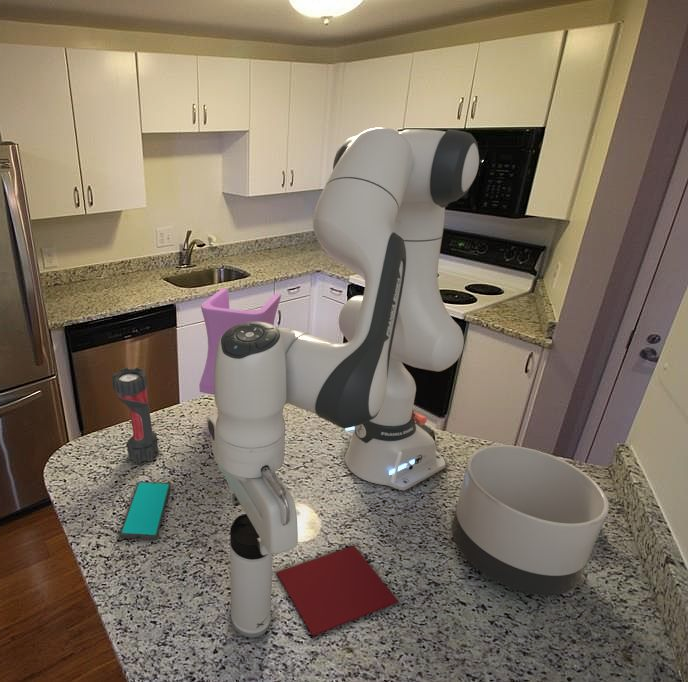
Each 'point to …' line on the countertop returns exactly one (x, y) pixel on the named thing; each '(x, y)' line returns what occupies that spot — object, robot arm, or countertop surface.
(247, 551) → the travel mug
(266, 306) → the vase
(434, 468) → the robot arm
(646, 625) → the countertop surface
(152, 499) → the smartphone
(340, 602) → the napkin
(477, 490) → the planter
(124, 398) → the flashlight
